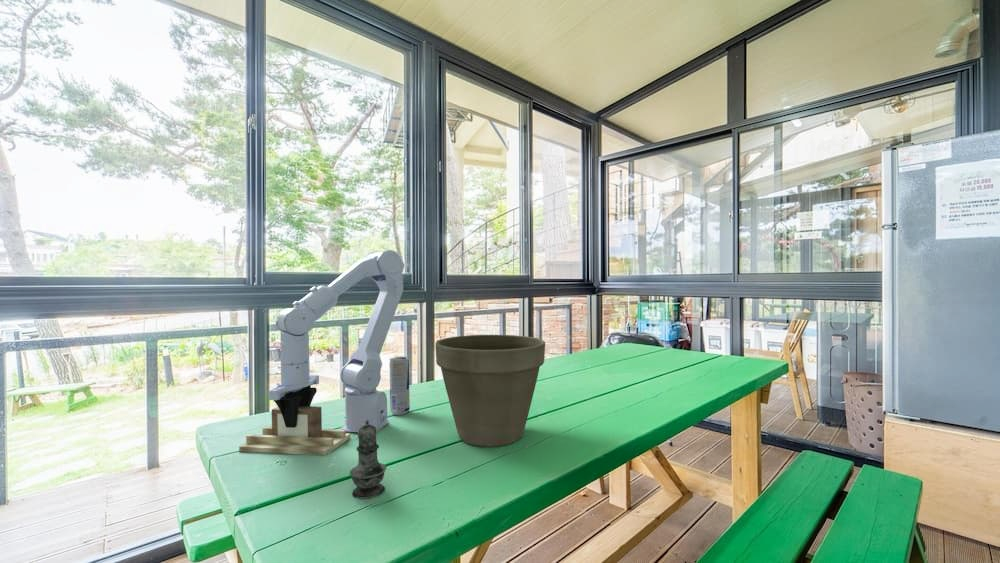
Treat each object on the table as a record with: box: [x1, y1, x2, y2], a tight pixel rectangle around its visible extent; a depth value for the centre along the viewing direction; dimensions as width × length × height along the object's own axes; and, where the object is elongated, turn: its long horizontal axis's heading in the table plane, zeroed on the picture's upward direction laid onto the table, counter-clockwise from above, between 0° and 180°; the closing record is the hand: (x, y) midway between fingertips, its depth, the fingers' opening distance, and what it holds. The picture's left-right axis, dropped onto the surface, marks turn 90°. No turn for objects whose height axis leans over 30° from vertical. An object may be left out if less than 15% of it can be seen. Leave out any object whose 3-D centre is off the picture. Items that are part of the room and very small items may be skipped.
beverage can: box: [389, 356, 411, 416], centre depth 115 cm, size 5×5×15 cm
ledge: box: [238, 426, 351, 456], centre depth 93 cm, size 20×10×2 cm, turn 80°
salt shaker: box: [349, 420, 387, 500], centre depth 71 cm, size 6×6×12 cm
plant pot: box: [435, 334, 546, 448], centre depth 96 cm, size 25×25×22 cm
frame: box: [271, 405, 323, 438], centre depth 93 cm, size 10×3×7 cm, turn 81°
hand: (296, 424), depth 93 cm, fingers closed on frame, 3 cm apart
